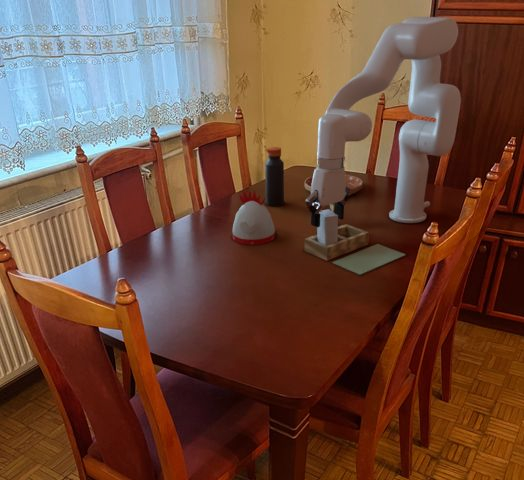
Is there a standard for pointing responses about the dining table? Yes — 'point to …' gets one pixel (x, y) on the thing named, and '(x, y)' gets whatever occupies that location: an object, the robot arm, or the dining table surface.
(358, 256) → the placemat
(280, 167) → the bottle
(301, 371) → the dining table surface
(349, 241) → the rack
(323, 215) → the cosmetic box
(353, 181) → the shallow brown bowl
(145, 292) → the dining table surface
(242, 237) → the kitchen timer
